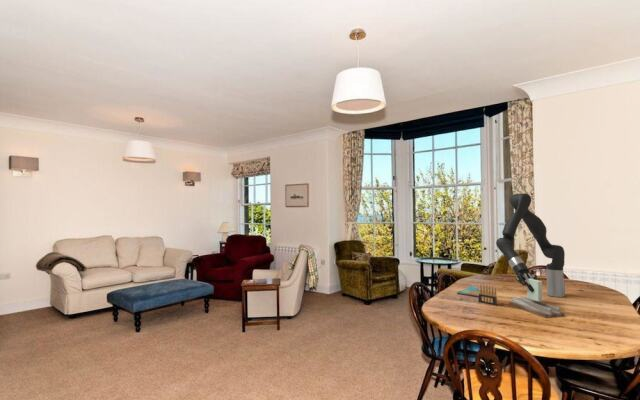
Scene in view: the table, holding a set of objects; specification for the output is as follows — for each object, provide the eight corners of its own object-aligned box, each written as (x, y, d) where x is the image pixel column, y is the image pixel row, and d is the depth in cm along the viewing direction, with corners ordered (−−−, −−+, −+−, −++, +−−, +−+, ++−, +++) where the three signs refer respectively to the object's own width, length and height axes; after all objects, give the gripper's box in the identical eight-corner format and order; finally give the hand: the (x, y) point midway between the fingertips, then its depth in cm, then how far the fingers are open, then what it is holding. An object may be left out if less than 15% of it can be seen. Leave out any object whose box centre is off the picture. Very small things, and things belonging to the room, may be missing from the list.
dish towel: (495, 292, 242) (495, 289, 242) (482, 299, 226) (481, 295, 226) (470, 289, 255) (470, 285, 255) (455, 294, 238) (455, 291, 238)
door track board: (526, 303, 213) (525, 295, 213) (564, 316, 187) (564, 307, 187) (509, 304, 210) (508, 297, 210) (545, 317, 185) (545, 309, 185)
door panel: (530, 297, 203) (530, 278, 203) (542, 301, 195) (541, 281, 196) (527, 297, 203) (526, 278, 203) (538, 301, 195) (538, 281, 195)
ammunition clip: (497, 305, 210) (496, 284, 211) (496, 305, 209) (495, 285, 209) (479, 301, 218) (479, 282, 219) (478, 302, 217) (477, 282, 218)
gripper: (511, 262, 207) (528, 288, 194) (531, 261, 210) (549, 286, 197) (505, 270, 212) (521, 295, 199) (524, 269, 215) (542, 293, 202)
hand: (535, 290), depth 198 cm, fingers closed on door panel, 2 cm apart
